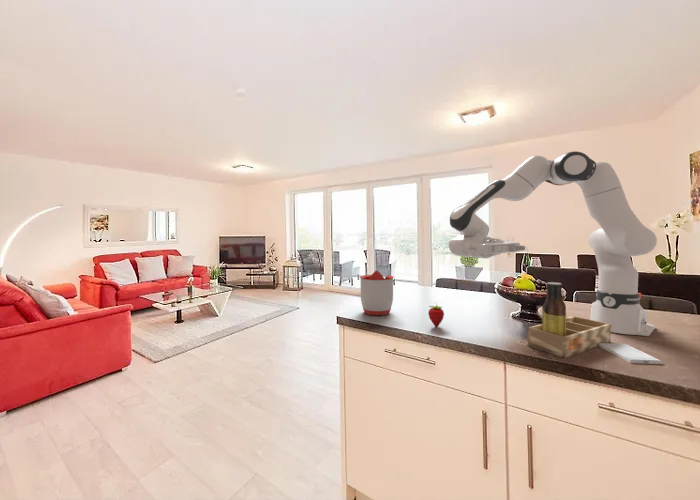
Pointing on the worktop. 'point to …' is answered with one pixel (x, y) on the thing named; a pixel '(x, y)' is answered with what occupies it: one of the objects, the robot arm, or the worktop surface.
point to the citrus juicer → (376, 293)
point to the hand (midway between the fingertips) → (516, 248)
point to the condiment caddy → (570, 337)
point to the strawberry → (436, 315)
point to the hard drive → (629, 353)
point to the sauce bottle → (554, 310)
